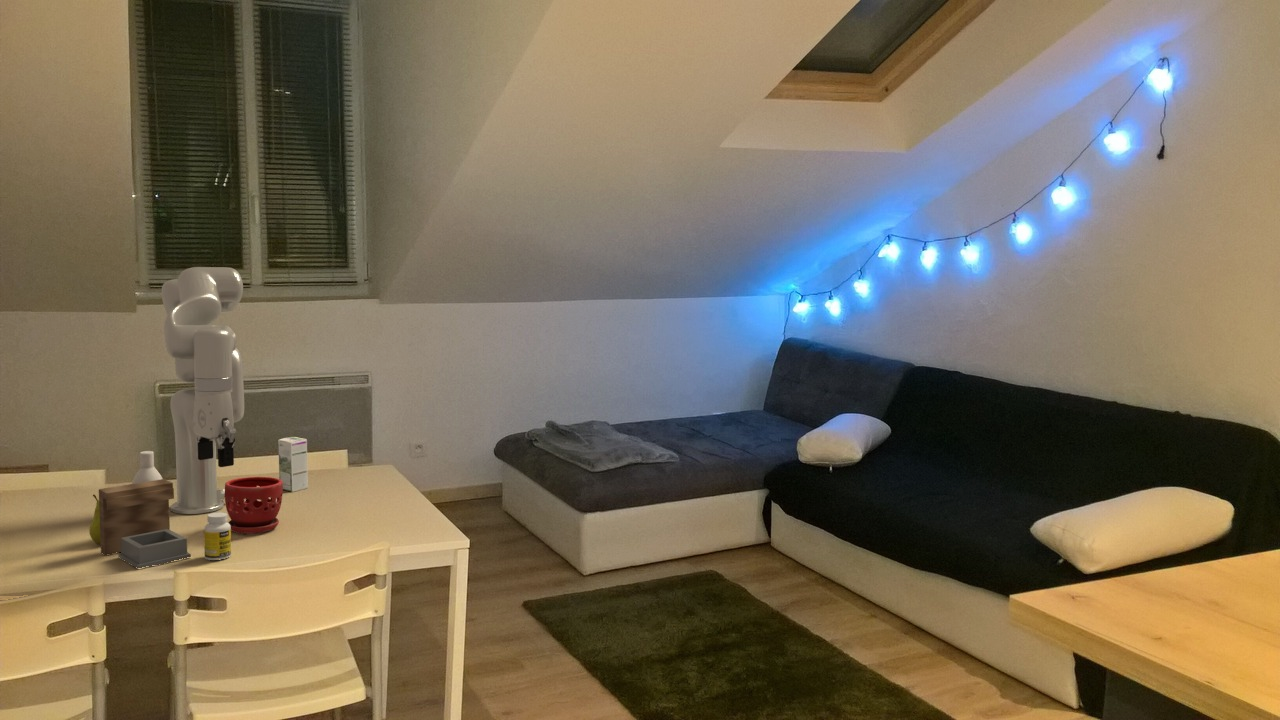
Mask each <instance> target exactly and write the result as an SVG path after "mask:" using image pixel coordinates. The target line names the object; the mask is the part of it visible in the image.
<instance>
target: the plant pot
mask: <svg viewBox="0 0 1280 720" xmlns="http://www.w3.org/2000/svg"><path fill="white" fill-rule="evenodd" d="M224 489H225V497H224V504H225V508H226V512H227V516H229V518H230V520H229V521H228V522H227V523H229V524H230V526H231V532H234V533H237V534H243V535H251V534H252V535H253V534H254V535H255V534H262V533H266V532H269V531H272V530H274V529H275V528H276V527H277V526H278V525H279V522H280V521H279V518H278V514H279V512H280V509H281V507H282V501H283V491H284V490H283V482H282V480H280V479H279V478H276V477H269V476H248V477H246V476H245V477H239V478H234V479H231V480H227V481H226V482H225V484H224Z"/></svg>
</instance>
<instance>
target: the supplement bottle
mask: <svg viewBox="0 0 1280 720" xmlns="http://www.w3.org/2000/svg"><path fill="white" fill-rule="evenodd" d="M227 521H228V512H227V513H226V512H213V513H212V512H210V513H208V514H207V524H206V525H205V526H204V530H203V532H204V533H203V534H204V536H203V537H204V539H203V541H204V545H203V546H204V547H203V548H204V559H205V558H206V559H205V560H207V559H208V560H207V561H210V560H219V559H224V558H227V557H229V556H230V557H231V556H232V530H231V526H230V524H229V523H228V522H227ZM230 557H229V558H230ZM227 559H228V558H227Z"/></svg>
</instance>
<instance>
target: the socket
mask: <svg viewBox="0 0 1280 720" xmlns="http://www.w3.org/2000/svg"><path fill="white" fill-rule="evenodd" d="M117 557H120V558H121V559H123V560H125V561H127V562H128V563H130V564H132V565H133V566H135V567H137V568H142V567H146V566H152V565H158V566H160V565H159V564H162V565H165V564H164V563H167V562H171V561H174V560H179V559H182V558H183V559H184V558H187V557H192V555H191V553H190V552H189V551H188V538H187V537H185V536H182V535H181V534H179V533H177V532H175V531H172V530H171V529H170V530H169V529H164V530H159V531H154V532H149V533H144V534H139V535H133V536H128V537H123V538H121V553H117ZM120 558H119V559H120ZM121 559H120V560H121ZM123 560H122V561H123ZM125 561H124V562H125ZM128 563H127V564H128ZM130 564H129V565H130ZM167 564H168V563H167ZM133 566H132V567H133ZM135 567H134V568H135Z"/></svg>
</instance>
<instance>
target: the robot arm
mask: <svg viewBox="0 0 1280 720" xmlns="http://www.w3.org/2000/svg"><path fill="white" fill-rule="evenodd" d="M243 292H244V284H243V279H242V277H241V274H240V273H239V271H237V269H234V268H233V267H228V266H227V267H226V266H225V267H222V266H221V267H219V266H217V267H216V266H213V267H211V266H194V267H190V268H189V267H188V268H186V269H184V270H183V271H181V272H180V273H179V274H178V276H177V278H174V279H170V280H169V279H168V280H167V281H165V282H163V284H162V286H161V300H162V303H163V304H162V305H163V307H164V310H165V312H166V314H167V315H166V317H165V320H164V325H163V335H164V342H165V348H166V351H167V353H168V355H169V356H170V357H171V358H174V365H175V366H174V368H175V372H176V373H175V374H176V377H177V379H178V380H179V381H180V382H183V383H191V384H192V383H194V387H190V388H183V389H180V390H178V391H176V392H175V393H173V395H172V396H171V398H170V404H169V405H170V412H171V416H172V423H173V430H174V438H175V439H174V442H175V465H176V466H175V467H176V468H175V469H176V499H177V500H176V501H175V502H174V503H171V505H170V511H172V512H173V513H175V514H181V515H196V514H197V515H198V514H207V513H208V514H209V513H212V512H213V513H214V512H216V511H219V510H221V509H223V508H224V506H225V505H224V504H225V501H224V500H225V488H222V489H220V488H218V476H217V472H218V471H217V469H218V468H217V466H218V467H219V468H225V467H232V466H234V464H235V462H234V461H235V460H234V459H235V458H234V457H235V455H234V453H235V451H234V448H235V442H236V434H237V430H236V428H235V427H234V426H235V425H234V424H235V423H238V422H240V421H241V420H242V419H243V418H244V414H245V388H244V387H245V386H244V385H245V384H244V367H243V360H242V359H243V358H242V355H241V351H240V350H239V349H238V348H237V336H236V333H235V331H234V330H233V329H232V328H231V327H230V326H228V325H225V324H211V323H213V322H214V321H216V320H217V319H218V318H219V316H220V315H221V313H225V312H228V313H229V312H232V311H234V310H235V309H236V308H238V305H239V304H240V301H242V297H243ZM216 442H217V443H216ZM217 445H218V447H219V448H217Z"/></svg>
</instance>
